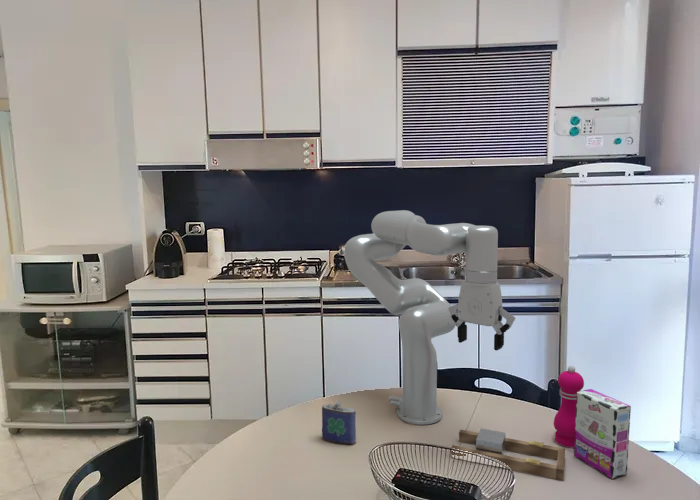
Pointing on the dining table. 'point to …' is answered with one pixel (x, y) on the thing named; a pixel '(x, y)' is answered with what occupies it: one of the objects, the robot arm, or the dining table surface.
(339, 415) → the flask
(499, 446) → the block
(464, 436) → the track
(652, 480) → the dining table surface
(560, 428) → the pepper mill
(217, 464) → the dining table surface
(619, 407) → the candy bar box
